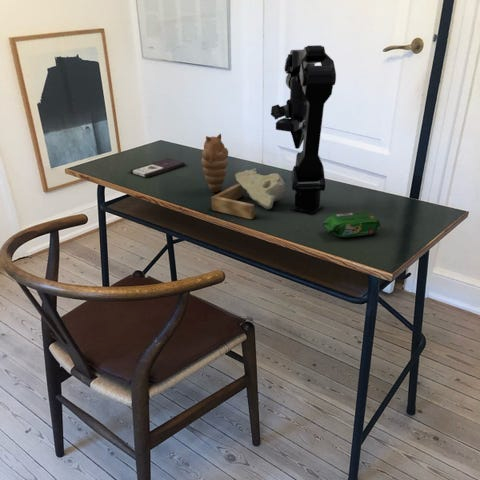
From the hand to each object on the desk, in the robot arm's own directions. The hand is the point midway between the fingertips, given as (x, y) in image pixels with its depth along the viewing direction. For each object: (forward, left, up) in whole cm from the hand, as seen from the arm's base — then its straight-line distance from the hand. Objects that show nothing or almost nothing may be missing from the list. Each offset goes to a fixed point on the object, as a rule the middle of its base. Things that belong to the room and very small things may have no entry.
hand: (297, 148), depth 167 cm
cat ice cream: (+19, +19, -12) cm, 29 cm away
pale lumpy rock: (+3, +20, -12) cm, 24 cm away
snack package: (-31, +27, -12) cm, 43 cm away
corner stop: (+4, +25, -12) cm, 28 cm away
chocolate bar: (+51, +10, -12) cm, 53 cm away
